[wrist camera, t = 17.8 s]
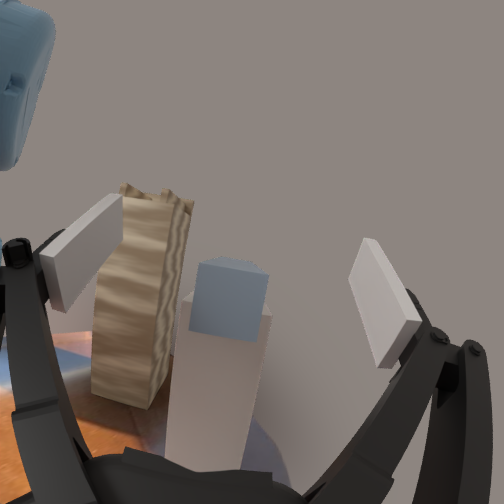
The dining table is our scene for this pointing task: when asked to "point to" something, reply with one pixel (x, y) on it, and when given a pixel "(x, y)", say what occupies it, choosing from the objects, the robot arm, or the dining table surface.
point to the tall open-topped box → (139, 298)
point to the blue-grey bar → (228, 299)
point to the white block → (212, 395)
